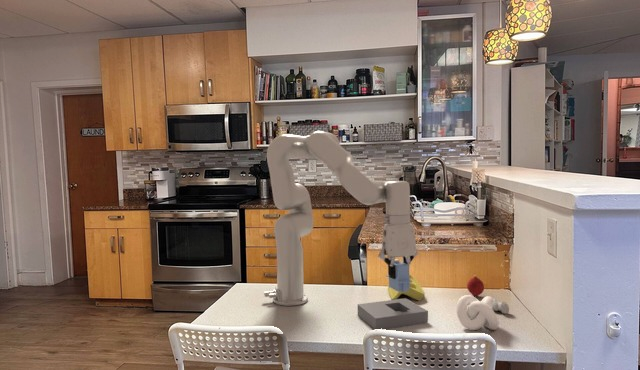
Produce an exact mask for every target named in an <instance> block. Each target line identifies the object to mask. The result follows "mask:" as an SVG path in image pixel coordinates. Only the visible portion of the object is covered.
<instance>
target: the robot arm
mask: <svg viewBox="0 0 640 370" xmlns="http://www.w3.org/2000/svg"><path fill="white" fill-rule="evenodd" d="M315 158H316V159H317V160H318V161H320V162H321V163H322V164H323V165H324V166H325V167H326V168H328V170H329V171H331V172H332V173H333V174H334V175H335V177H336V179H337V181H339V183H340V185H341V186H342V187H343V188H344V189H345V191H347V192H348V193H349V194H350V195H351V196H352V197H353V198H354V199H356V200H357V201H358V202H360V203H361V204H362V205H366V206H373V205H377V204H380V203H385V216H383V217H382V222H384V223H385V224H383V231H382V235H381V236H382V238H381V249H380V252H379V254H378V256H377V257H378V258H379V259H380V260H382V261H383V262H384V263H386V265H387V272H388V273H387V275H389V277H390V278H392V279H395V278H396V274H395V266H394V261H395V259H396V258H402V262H403V263H406V264H408V265H409V266H410V265H411V263H412V261H413V260H414V258H416V257H417V256H418V255H419V251H418V250H417V244H416V243H417V241H416V235H415V233H416V232H415V227H414V225H413V223H411V193H410V192H411V190H410V183H409V182H408V181H406V180H390V181H385V180H379V179H378V180H370V179H369V178H368V177H367V176H366V175H365V174H363V173H362V172H361V171H360V170H359V169H358V168H357V167H356V165H355V163H354V157H353V155H352V154H351V153H350V152H349V151H347V150H346V149H345V148H344V147H343V146H342V145H340V141H339V138H338V137H337V136H336V135H335V134H334V133H332V132H326V131H323V130H317V131H313V132H311V134H309V135H304V136H303V135H297V134H290V133H287V134H285V133H283V134H280V135H277V136H276V137H275V138H273V139H272V140H271V142H270V143H269V145H268V147H267V151H266V162H267V167H268V170H269V177H270V184H271V190H272V198H273V199H272V200H273V203H274V205H275V207H276V208H277V209H278V210H281V211H289V213H286V214H283V215H281V216H279V217H278V218H277V219H276V221H275V222H274V226H273V232H274V237H275V244H276V275H277V276H276V284H277V286H275V288H274V289H273V290H270V291H269V290H267V291H266V290H265V291H264V292H263V293H264V294H263V295H264V297H265V298H267V297H268V298H269V299H272V302H273V303H274V304H276V305H279V306H282V307H283V306H286V307H290V306H291V307H292V306H293V307H294V306H300V305H303V304H305V303H307V302H308V300H309V299H308V298H309V296H308V295H307V294H306V293H304V249H303V244H302V241H301V238H303V237H306V236H308V235H310V234H311V232H313V230H314V216H313V215H314V214H313V208H312V202H311V196H310V193H309V191H308V189H307V188H306V187H305V186H304V185H303V184H302V183H296V181H295V174H294V169H293V168H292V167H293V166H292V165H291V163H290V159H297V160H301V159H302V160H304V159H315ZM386 256H387V257H386ZM389 277H388V278H389Z"/></svg>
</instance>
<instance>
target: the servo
mask: <svg viewBox="0 0 640 370" xmlns="http://www.w3.org/2000/svg"><path fill="white" fill-rule="evenodd" d="M394 266H395V274H396V278H395V279H392V278H390V277H389V275H388V274H386V277H387V278H388V283H389V287H391V288H392V289H394V290H396V291H398V292H400V291H403V292H407V291H408V290H410V282H412V280H409V274H410V265H408V264H406V263H403V261H402V260H401V261H400V259H397V258H395V261H394Z"/></svg>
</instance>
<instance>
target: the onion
mask: <svg viewBox="0 0 640 370" xmlns="http://www.w3.org/2000/svg"><path fill="white" fill-rule="evenodd" d="M466 288H467V290H468V292H469V293H470V295H471V296H473V297H474V296H476V297H478V296H480V295H481V294H482V293H484V291H485V285H484V283H483V281H482V280H481V278H478V276H477V275H476V274H474V275H473V277H472V278H471V279H469V281H468V282H467V285H466Z"/></svg>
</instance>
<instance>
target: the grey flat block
mask: <svg viewBox="0 0 640 370" xmlns="http://www.w3.org/2000/svg"><path fill="white" fill-rule="evenodd" d="M357 316H358V317H359V318H360V319H362V320H363V321H364V322H365V323H366V324H367V325H369V326H370V327H371V329H374V330H375V329H381V328H382V330H388V329H393V328H395V329H396V328H402V327H407V326H406V325H408V326H414V325H413V324H415V325H420V324H419V323H421V324H426V323H425V322H429V311H428V310H426V308H423V307H422V306H420V305H418V304H416V303H415V302H413V301H411V300H409V299H408V298H407V297H405V298H397V299H396V300H393V299H389V300H382V301H374V302H373V301H372V302H365V303H359V304H357ZM401 326H402V327H401Z"/></svg>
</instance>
